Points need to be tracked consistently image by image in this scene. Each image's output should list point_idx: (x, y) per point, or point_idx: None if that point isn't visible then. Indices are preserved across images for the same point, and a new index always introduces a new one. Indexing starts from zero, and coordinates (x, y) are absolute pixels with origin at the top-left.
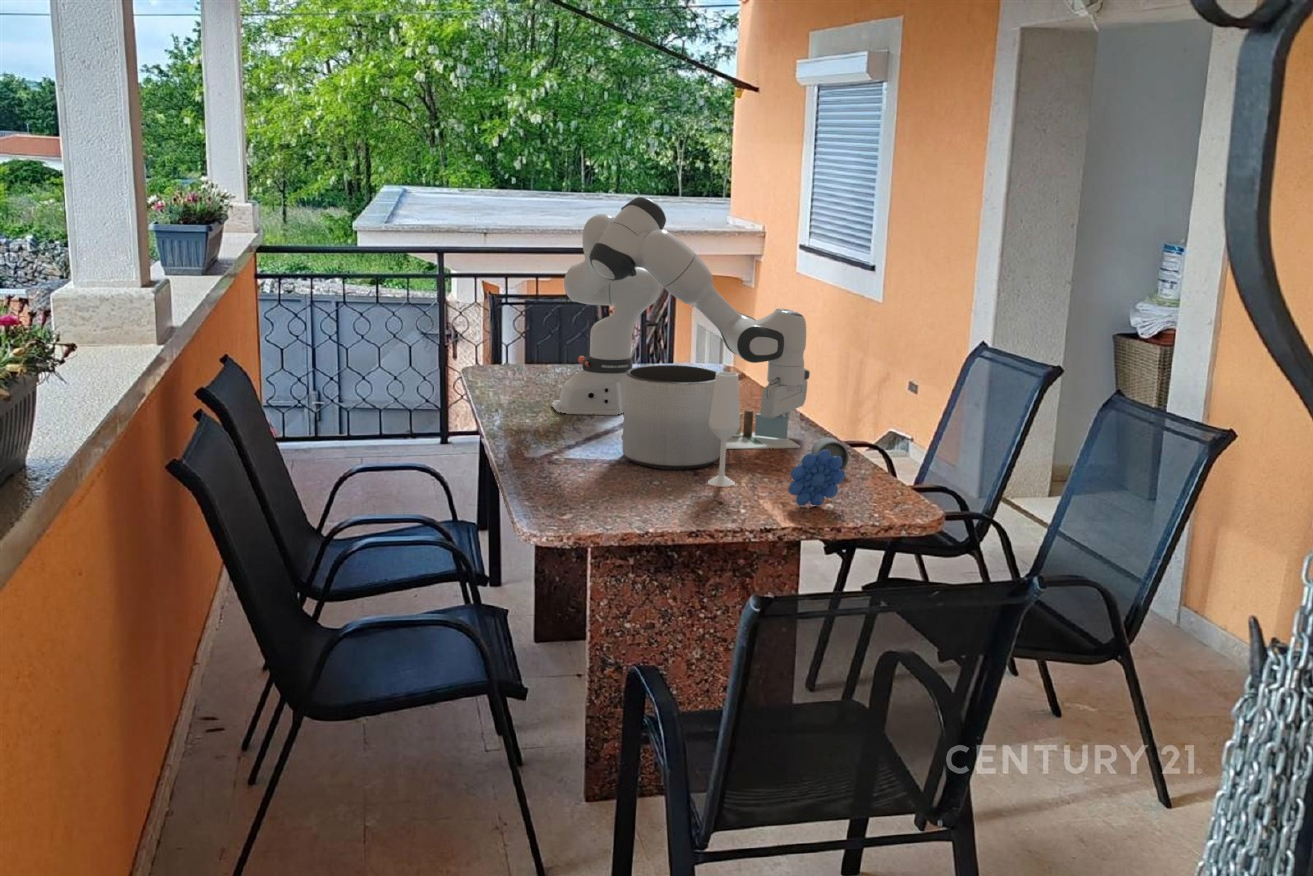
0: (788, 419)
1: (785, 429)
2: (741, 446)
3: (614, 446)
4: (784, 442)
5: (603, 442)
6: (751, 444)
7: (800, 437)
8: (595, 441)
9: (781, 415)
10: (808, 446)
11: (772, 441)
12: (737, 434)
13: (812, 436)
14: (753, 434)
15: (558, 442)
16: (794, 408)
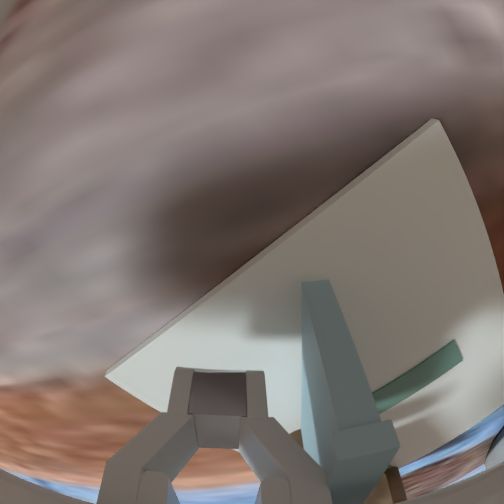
0: (342, 430)
1: (350, 346)
2: (497, 371)
3: (475, 473)
4: (378, 262)
5: None
6: (465, 366)
7: (79, 233)
8: None
9: (328, 500)
10: (349, 60)
11: (378, 331)
12: None
13: (2, 176)
14: None
15: None
16: (33, 497)
